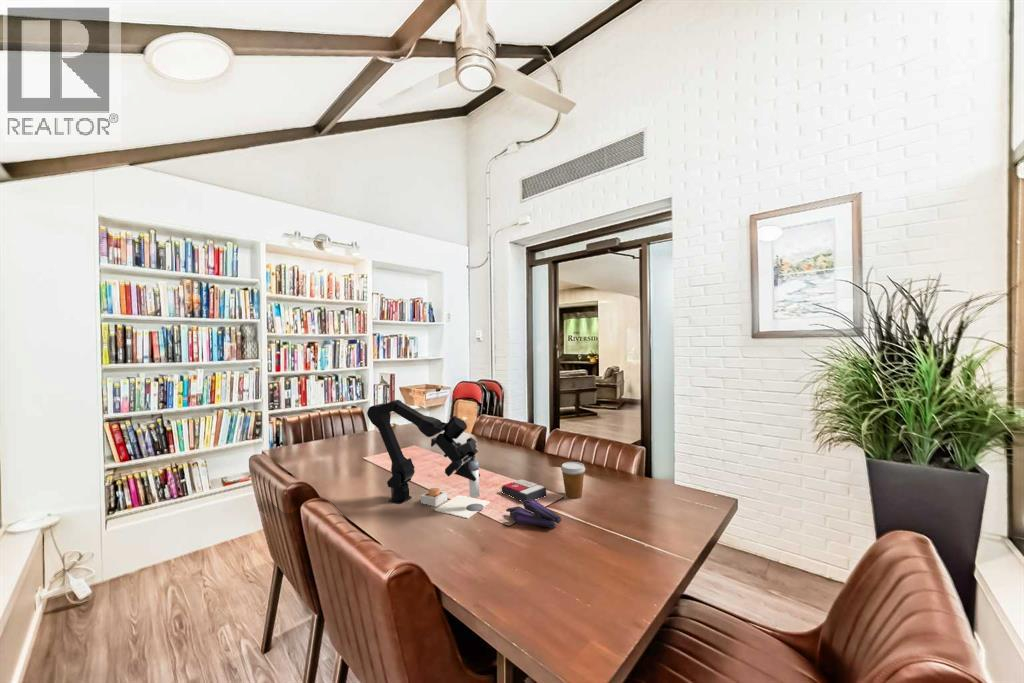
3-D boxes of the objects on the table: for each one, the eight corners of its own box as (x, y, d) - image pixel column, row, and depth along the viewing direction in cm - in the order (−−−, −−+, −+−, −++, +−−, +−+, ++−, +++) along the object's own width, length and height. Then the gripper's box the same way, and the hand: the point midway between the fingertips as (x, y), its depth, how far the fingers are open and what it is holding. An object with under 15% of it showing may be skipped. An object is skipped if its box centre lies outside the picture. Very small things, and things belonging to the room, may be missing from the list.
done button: (425, 497, 156) (425, 491, 156) (433, 493, 160) (433, 487, 160) (434, 499, 154) (434, 492, 154) (442, 495, 158) (442, 488, 158)
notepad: (434, 510, 149) (434, 509, 149) (458, 496, 162) (458, 494, 162) (469, 519, 141) (469, 517, 141) (492, 503, 154) (492, 501, 154)
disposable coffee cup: (590, 497, 157) (589, 467, 157) (569, 502, 153) (568, 470, 153) (577, 489, 166) (577, 460, 165) (557, 493, 162) (556, 463, 162)
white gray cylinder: (467, 495, 150) (466, 462, 150) (475, 493, 152) (474, 459, 152) (473, 498, 147) (472, 464, 147) (481, 495, 150) (480, 462, 149)
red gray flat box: (521, 478, 171) (546, 485, 160) (522, 488, 171) (547, 496, 160) (501, 484, 164) (525, 493, 153) (501, 495, 164) (526, 504, 153)
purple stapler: (565, 505, 136) (517, 488, 148) (547, 522, 127) (497, 502, 139) (565, 525, 137) (518, 506, 149) (547, 543, 128) (498, 521, 140)
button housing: (420, 503, 156) (420, 495, 156) (433, 496, 162) (432, 489, 162) (435, 506, 152) (435, 498, 152) (447, 499, 159) (447, 492, 159)
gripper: (452, 438, 142) (482, 472, 139) (472, 426, 159) (499, 456, 156) (432, 459, 144) (461, 493, 141) (454, 445, 162) (481, 475, 159)
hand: (477, 478), depth 149 cm, fingers closed on white gray cylinder, 4 cm apart
